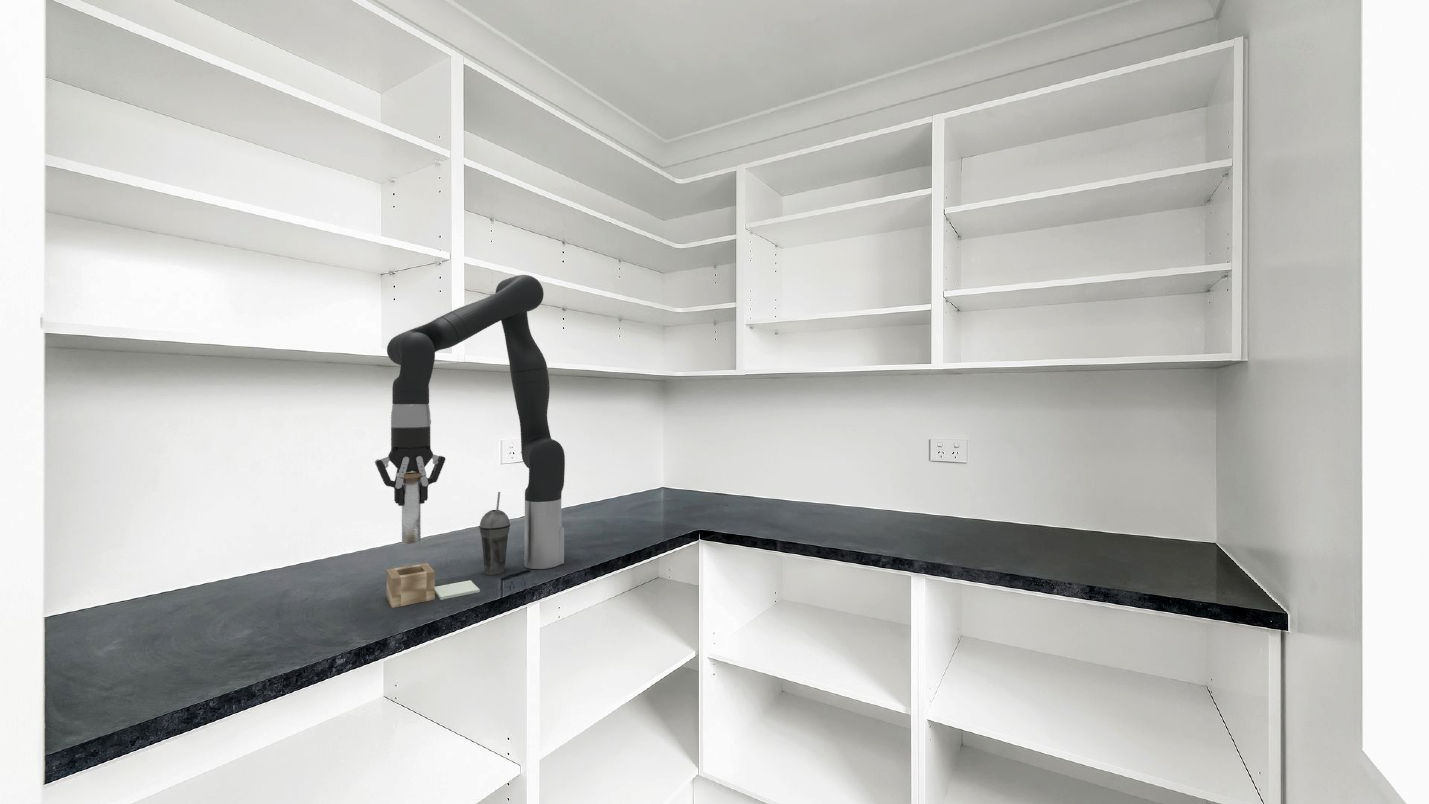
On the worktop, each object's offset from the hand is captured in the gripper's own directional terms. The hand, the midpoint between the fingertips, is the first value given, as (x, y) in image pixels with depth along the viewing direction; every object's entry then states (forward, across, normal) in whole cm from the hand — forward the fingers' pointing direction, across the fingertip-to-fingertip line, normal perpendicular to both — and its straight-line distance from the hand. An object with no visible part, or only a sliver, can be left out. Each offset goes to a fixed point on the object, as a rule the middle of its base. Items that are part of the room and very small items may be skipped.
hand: (411, 503), depth 120 cm
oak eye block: (+20, 0, 0) cm, 20 cm away
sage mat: (+21, -9, +1) cm, 22 cm away
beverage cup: (+21, -20, -8) cm, 30 cm away
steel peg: (+8, 0, 0) cm, 8 cm away
